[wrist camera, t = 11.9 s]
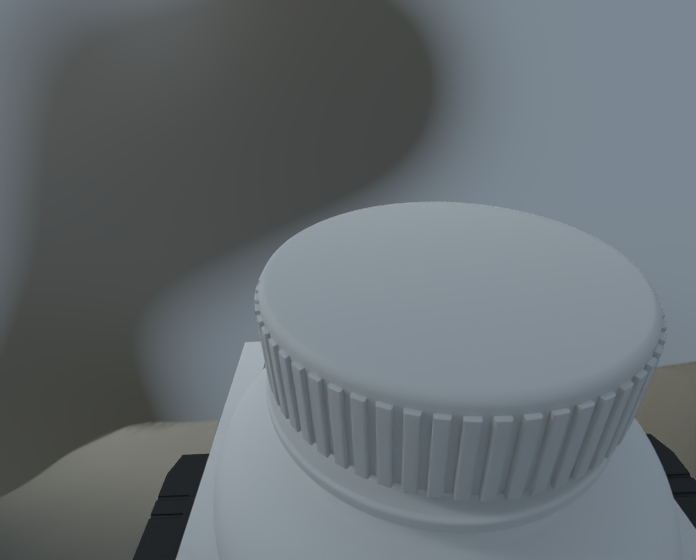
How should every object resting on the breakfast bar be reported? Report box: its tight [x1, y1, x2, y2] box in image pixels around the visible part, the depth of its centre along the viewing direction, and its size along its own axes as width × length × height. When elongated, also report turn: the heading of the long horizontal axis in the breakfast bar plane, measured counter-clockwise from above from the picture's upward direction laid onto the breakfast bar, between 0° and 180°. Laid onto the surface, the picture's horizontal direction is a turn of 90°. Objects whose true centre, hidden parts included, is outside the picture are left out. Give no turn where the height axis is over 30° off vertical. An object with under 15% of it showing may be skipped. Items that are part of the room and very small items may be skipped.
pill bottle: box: [212, 202, 682, 560], centre depth 10 cm, size 8×8×15 cm
